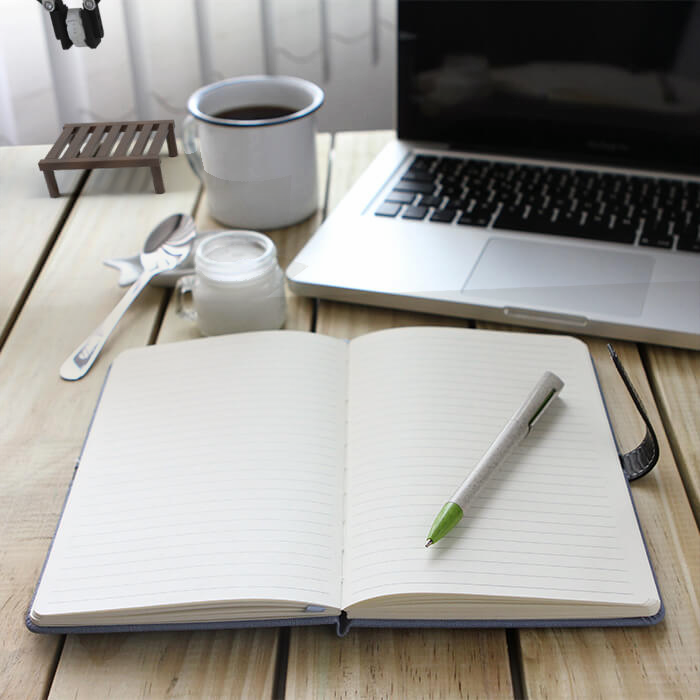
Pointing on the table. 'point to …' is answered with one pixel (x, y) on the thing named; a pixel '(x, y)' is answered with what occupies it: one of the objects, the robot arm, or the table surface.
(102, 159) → the rack
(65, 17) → the robot arm
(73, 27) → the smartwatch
